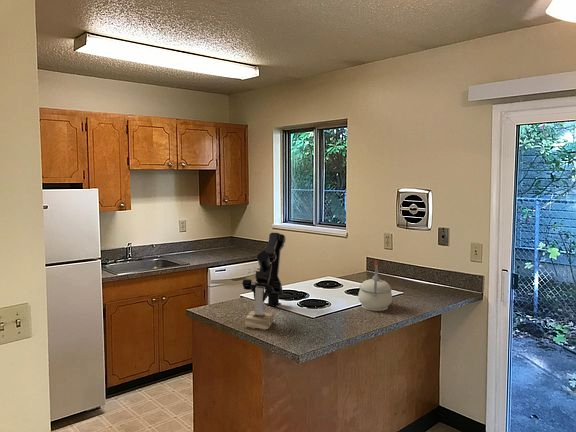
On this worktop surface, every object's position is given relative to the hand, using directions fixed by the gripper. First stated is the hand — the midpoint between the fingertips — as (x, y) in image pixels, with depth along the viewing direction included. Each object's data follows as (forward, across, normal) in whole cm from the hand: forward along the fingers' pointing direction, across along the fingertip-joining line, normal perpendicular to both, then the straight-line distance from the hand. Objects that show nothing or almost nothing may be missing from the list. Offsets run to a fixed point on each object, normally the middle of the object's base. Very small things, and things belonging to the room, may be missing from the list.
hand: (259, 301), depth 222 cm
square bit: (+4, 0, +6) cm, 7 cm away
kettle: (-24, +55, +42) cm, 73 cm away
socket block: (+8, 0, +9) cm, 12 cm away
